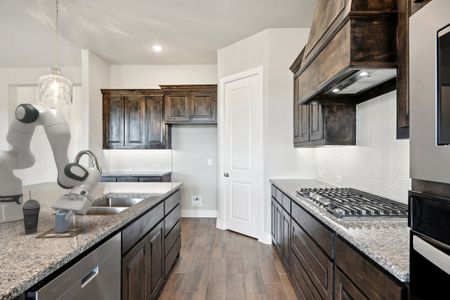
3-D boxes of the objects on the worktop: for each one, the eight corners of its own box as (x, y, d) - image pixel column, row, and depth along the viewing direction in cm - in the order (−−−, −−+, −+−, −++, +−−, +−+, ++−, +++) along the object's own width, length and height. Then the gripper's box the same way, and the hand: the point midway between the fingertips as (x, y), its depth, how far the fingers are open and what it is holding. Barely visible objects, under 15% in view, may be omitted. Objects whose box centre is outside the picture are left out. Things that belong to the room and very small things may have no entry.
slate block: (60, 232, 127) (61, 215, 127) (54, 231, 129) (55, 214, 129) (68, 230, 131) (68, 213, 131) (62, 229, 132) (62, 212, 132)
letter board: (35, 238, 122) (35, 237, 122) (50, 229, 136) (50, 228, 136) (73, 237, 124) (73, 236, 124) (85, 228, 138) (85, 227, 138)
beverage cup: (30, 235, 126) (31, 191, 127) (17, 234, 128) (18, 191, 128) (43, 230, 134) (44, 189, 134) (31, 229, 135) (32, 189, 135)
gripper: (59, 190, 140) (40, 213, 131) (90, 192, 133) (72, 217, 124) (67, 197, 144) (49, 220, 135) (97, 200, 137) (80, 224, 128)
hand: (60, 219), depth 129 cm, fingers open, 4 cm apart
